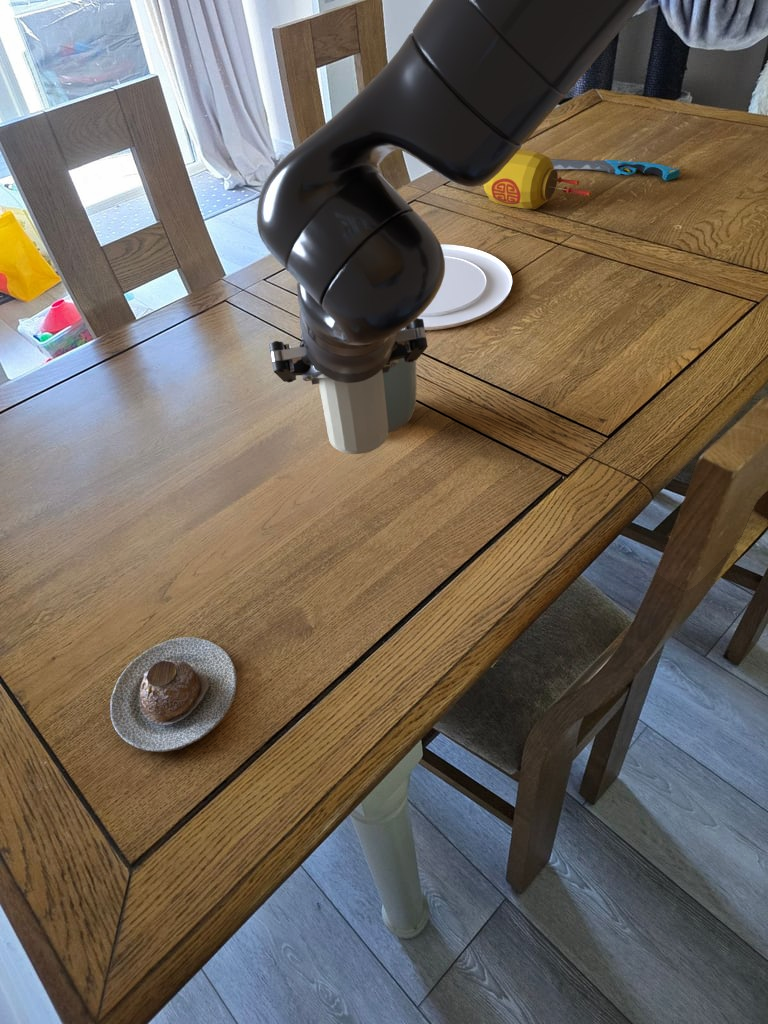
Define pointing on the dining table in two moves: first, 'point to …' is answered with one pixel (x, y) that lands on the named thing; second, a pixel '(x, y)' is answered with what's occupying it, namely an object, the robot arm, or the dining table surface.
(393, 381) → the cup
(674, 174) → the knife
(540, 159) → the lantern
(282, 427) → the dining table surface
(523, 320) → the dining table surface
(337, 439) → the white faceted vase
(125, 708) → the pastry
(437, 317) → the plate
